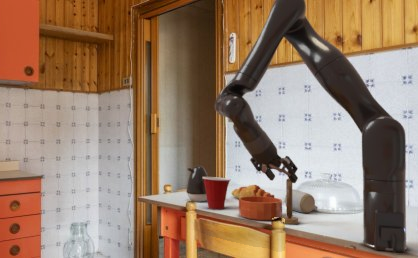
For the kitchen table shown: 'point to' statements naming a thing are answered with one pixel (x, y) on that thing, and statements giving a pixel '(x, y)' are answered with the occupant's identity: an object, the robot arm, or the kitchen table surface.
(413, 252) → the kitchen table surface
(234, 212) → the kitchen table surface
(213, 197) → the plastic cup
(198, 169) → the pump dispenser
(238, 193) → the croissant
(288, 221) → the wooden peg stand
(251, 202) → the bowl
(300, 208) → the ceramic mug
